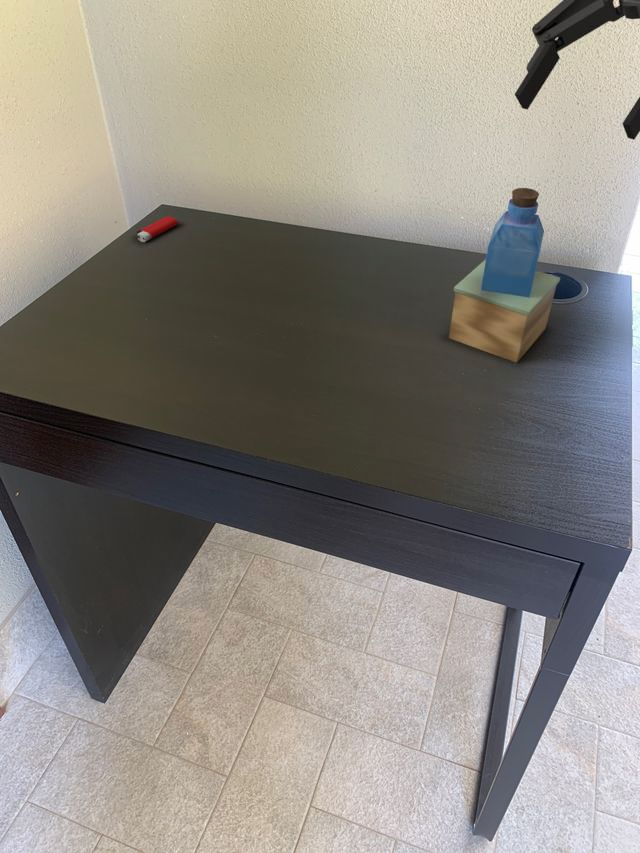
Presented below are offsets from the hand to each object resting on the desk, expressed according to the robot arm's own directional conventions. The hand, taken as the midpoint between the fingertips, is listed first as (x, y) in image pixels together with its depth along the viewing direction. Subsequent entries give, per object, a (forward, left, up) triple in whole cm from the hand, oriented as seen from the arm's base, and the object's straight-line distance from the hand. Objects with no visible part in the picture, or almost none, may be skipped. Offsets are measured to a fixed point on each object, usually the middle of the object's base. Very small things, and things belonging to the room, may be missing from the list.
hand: (571, 116), depth 74 cm
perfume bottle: (+3, +1, -22) cm, 22 cm away
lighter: (+62, +22, -30) cm, 72 cm away
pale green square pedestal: (+3, +1, -29) cm, 30 cm away
